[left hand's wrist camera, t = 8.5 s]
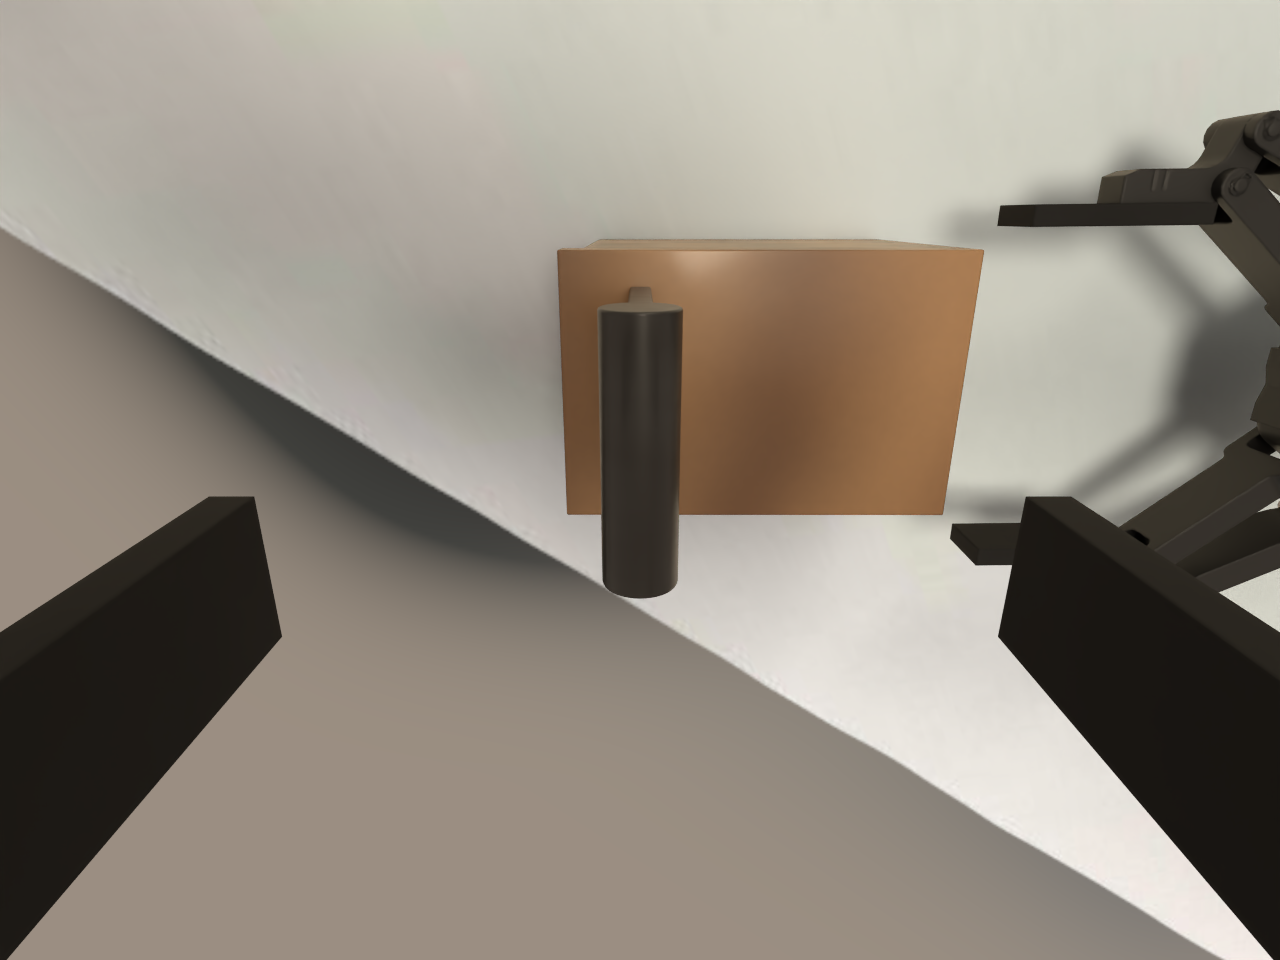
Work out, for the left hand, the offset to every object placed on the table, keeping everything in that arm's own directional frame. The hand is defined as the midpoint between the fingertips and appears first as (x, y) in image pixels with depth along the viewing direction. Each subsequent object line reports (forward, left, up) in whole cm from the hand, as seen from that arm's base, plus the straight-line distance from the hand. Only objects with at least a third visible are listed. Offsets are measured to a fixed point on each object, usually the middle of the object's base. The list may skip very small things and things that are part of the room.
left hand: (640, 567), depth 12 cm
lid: (+3, +2, -14) cm, 15 cm away
